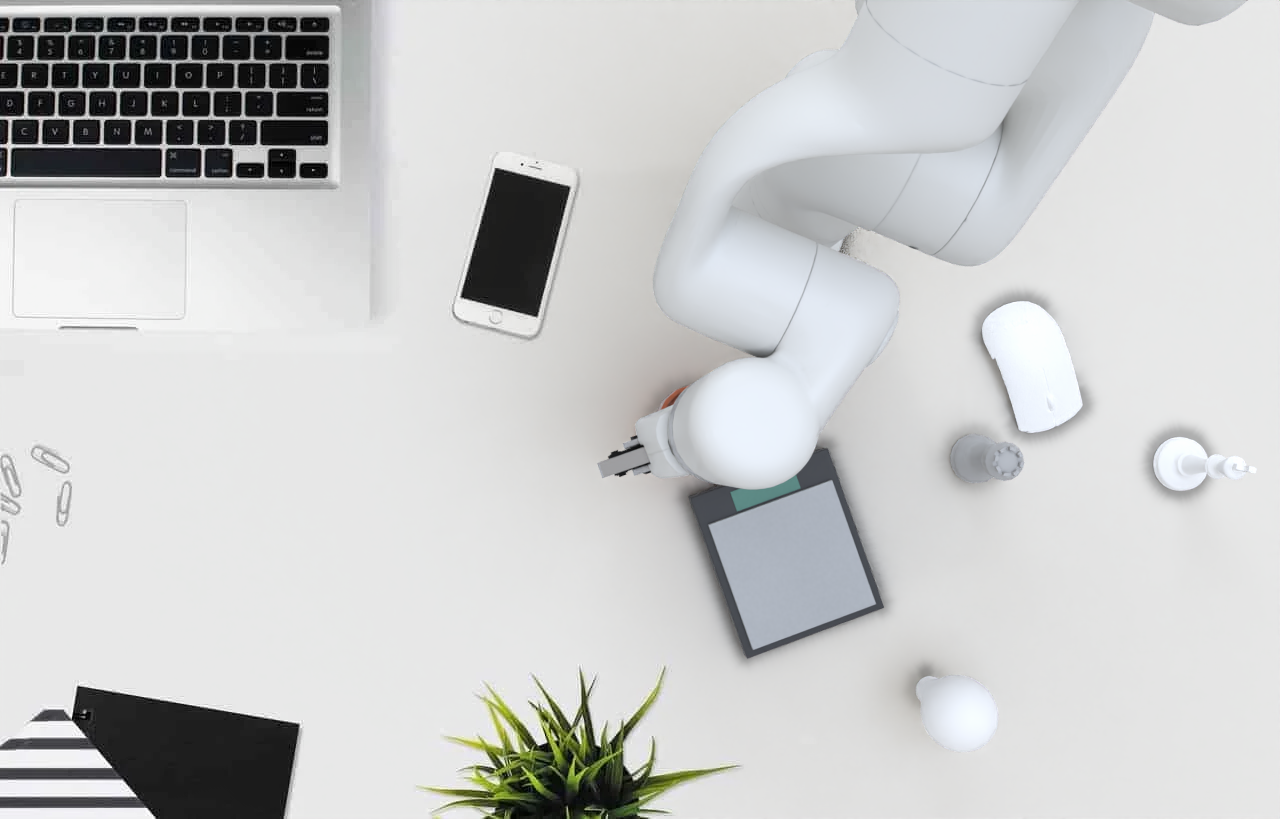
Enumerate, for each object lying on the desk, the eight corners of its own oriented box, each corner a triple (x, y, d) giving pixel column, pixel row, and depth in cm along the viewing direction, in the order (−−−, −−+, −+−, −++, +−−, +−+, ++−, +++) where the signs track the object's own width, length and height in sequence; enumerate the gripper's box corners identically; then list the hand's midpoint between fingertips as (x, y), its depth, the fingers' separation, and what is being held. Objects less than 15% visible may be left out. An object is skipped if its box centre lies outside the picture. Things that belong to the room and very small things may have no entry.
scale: (688, 496, 89) (690, 498, 87) (823, 447, 90) (829, 448, 88) (744, 654, 89) (748, 660, 87) (879, 604, 90) (886, 609, 88)
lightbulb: (890, 657, 90) (932, 689, 79) (956, 650, 90) (1007, 681, 79) (896, 724, 90) (938, 766, 79) (962, 718, 90) (1014, 758, 79)
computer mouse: (1022, 440, 91) (1033, 441, 88) (970, 319, 91) (980, 316, 88) (1088, 411, 91) (1101, 411, 89) (1037, 290, 91) (1049, 287, 89)
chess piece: (1199, 495, 92) (1274, 504, 82) (1148, 484, 91) (1217, 492, 81) (1209, 442, 92) (1285, 445, 82) (1158, 432, 91) (1228, 433, 81)
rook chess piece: (1004, 446, 91) (1044, 448, 83) (984, 491, 91) (1022, 497, 83) (960, 425, 90) (996, 425, 82) (940, 470, 90) (974, 474, 82)
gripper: (825, 333, 68) (774, 358, 85) (584, 419, 66) (582, 427, 83) (863, 438, 68) (804, 442, 85) (622, 526, 66) (612, 512, 83)
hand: (694, 434), depth 84 cm, fingers open, 9 cm apart
